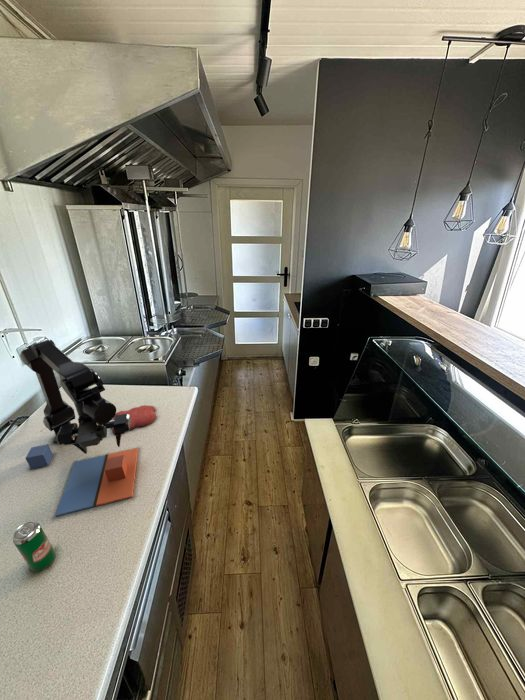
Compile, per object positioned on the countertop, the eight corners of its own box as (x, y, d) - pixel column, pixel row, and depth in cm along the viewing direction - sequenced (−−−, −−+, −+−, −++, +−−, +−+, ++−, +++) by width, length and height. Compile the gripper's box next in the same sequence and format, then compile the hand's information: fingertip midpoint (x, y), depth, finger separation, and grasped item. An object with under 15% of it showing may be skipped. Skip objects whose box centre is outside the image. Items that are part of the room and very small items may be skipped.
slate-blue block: (36, 458, 99) (31, 447, 97) (53, 454, 100) (48, 444, 98) (30, 469, 95) (25, 458, 93) (48, 465, 96) (42, 454, 94)
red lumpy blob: (110, 437, 108) (109, 433, 107) (110, 416, 119) (108, 412, 118) (158, 422, 115) (157, 418, 114) (153, 404, 126) (153, 400, 125)
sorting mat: (75, 462, 97) (74, 461, 97) (138, 449, 102) (137, 447, 102) (55, 516, 80) (54, 515, 79) (132, 497, 85) (131, 495, 84)
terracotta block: (111, 469, 93) (107, 458, 91) (127, 465, 95) (124, 454, 92) (108, 481, 89) (104, 470, 87) (125, 477, 90) (122, 466, 88)
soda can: (43, 574, 67) (23, 544, 62) (25, 570, 68) (4, 539, 63) (61, 552, 71) (44, 521, 66) (44, 548, 72) (26, 517, 67)
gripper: (40, 435, 72) (60, 478, 79) (120, 420, 77) (132, 461, 84) (54, 408, 81) (71, 448, 88) (125, 396, 86) (136, 435, 93)
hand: (102, 449), depth 88 cm, fingers open, 9 cm apart
